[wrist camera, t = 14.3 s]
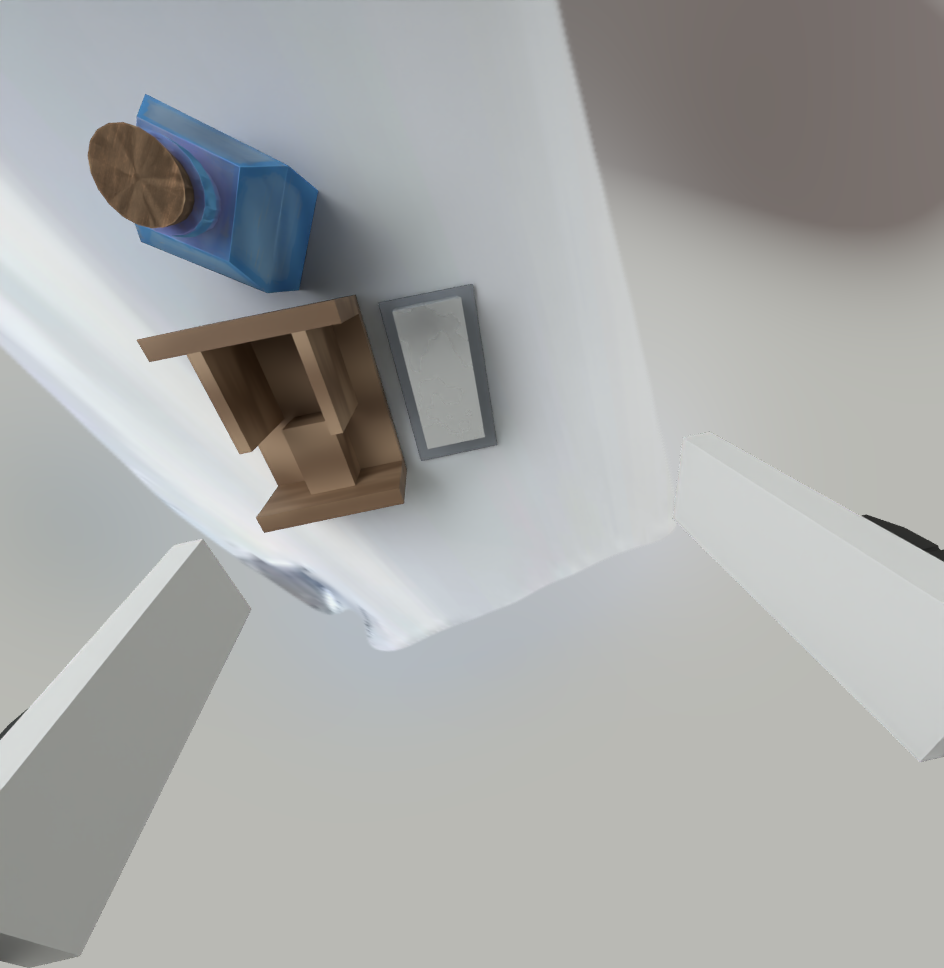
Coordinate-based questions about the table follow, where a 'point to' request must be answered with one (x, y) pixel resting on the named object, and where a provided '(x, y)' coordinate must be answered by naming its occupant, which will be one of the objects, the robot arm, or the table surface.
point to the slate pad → (477, 361)
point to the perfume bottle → (206, 196)
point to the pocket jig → (300, 406)
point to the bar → (440, 370)
